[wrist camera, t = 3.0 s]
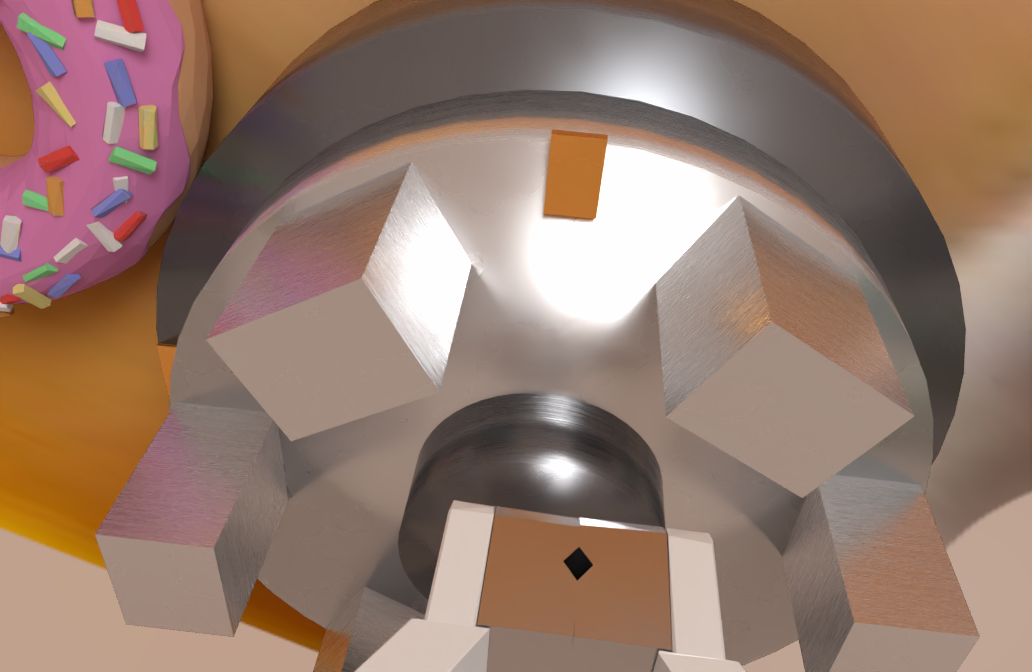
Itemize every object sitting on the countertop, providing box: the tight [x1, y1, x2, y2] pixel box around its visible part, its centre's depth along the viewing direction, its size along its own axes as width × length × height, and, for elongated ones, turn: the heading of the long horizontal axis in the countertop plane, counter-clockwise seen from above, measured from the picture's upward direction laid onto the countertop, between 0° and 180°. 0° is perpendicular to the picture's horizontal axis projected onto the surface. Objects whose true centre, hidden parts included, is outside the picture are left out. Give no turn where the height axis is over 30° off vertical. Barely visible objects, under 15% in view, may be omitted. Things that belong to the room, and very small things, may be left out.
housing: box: [156, 0, 966, 465], centre depth 25 cm, size 21×21×4 cm
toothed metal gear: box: [95, 90, 980, 672], centre depth 20 cm, size 18×18×6 cm
